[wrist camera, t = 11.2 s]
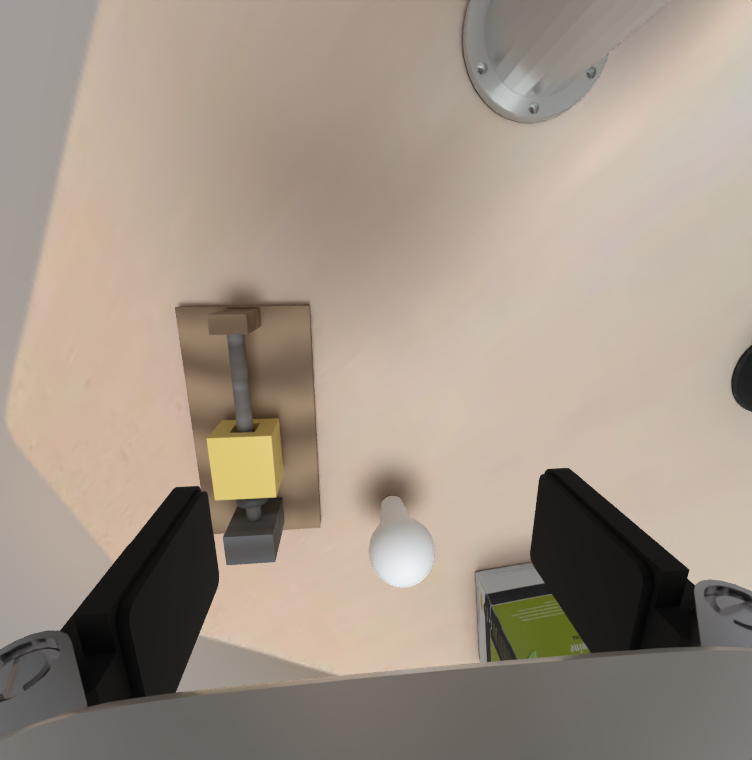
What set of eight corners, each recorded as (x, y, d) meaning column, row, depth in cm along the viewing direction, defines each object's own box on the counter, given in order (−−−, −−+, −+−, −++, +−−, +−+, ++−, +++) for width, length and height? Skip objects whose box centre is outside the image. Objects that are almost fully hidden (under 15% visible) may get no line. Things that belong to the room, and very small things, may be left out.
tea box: (550, 647, 51) (630, 791, 37) (477, 660, 51) (531, 811, 36) (551, 555, 47) (642, 676, 33) (472, 568, 46) (530, 697, 32)
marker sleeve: (221, 420, 36) (206, 438, 32) (279, 418, 37) (271, 435, 33) (228, 476, 38) (214, 500, 34) (283, 473, 38) (276, 497, 34)
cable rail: (180, 306, 35) (141, 313, 28) (310, 304, 36) (302, 311, 29) (211, 527, 42) (185, 576, 35) (320, 520, 43) (316, 568, 36)
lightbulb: (353, 508, 43) (357, 584, 32) (385, 467, 42) (400, 532, 31) (396, 533, 44) (413, 614, 33) (428, 494, 43) (456, 565, 32)
